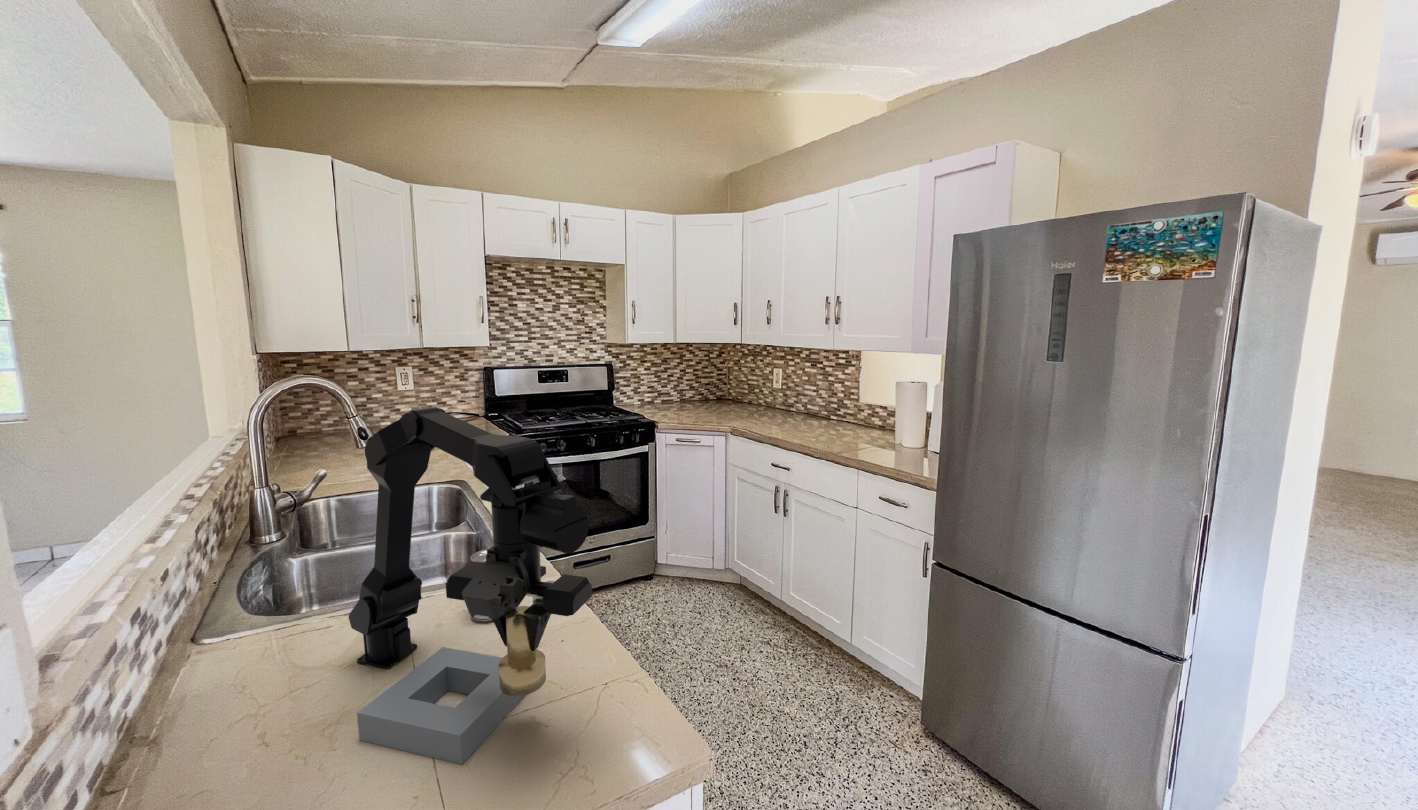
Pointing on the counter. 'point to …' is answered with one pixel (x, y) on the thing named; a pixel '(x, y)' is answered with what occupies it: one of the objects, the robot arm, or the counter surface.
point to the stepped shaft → (520, 657)
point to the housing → (439, 707)
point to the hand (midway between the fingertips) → (521, 647)
